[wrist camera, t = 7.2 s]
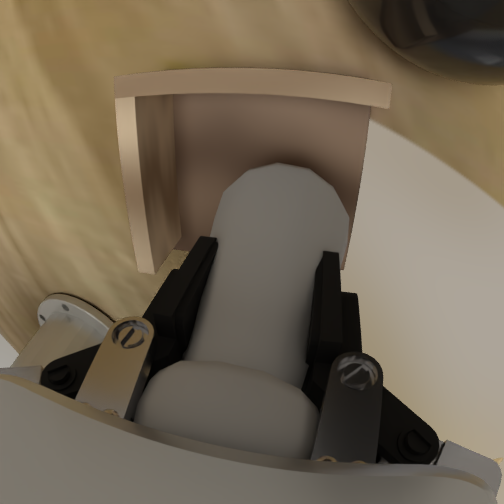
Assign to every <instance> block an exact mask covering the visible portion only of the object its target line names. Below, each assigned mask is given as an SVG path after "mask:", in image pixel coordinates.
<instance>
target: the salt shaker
mask: <svg viewBox="0 0 504 504" xmlns="http://www.w3.org/2000/svg"><path fill="white" fill-rule="evenodd" d="M348 229H349V216H348V214H347V212H346V210H345V208H344V206H343V204H342V202H341V200H340V199H339V197H338V195H337V193H336V191H335V189H334V187H333V186H331V185H330V184H329V183H328V182H326V181H325V180H324V179H322V178H321V177H320V176H319V175H317V174H316V173H315V172H313V171H312V170H311V169H309V168H304V167H299V166H294V165H289V164H283V163H274V164H269V165H265V166H261V167H257V168H253V169H249V170H248V171H246V172H245V173H244V174H243V175H242V176H241V177H240V178H238V179H237V180H236V181H235V182H234V183H233V184H232V185H231V186H229V187H228V188H227V189H226V190H225V191H224V192H223V195H222V198H221V200H220V203H219V206H218V209H217V212H216V215H215V218H214V222H213V226H212V230H211V234H210V237H216V238H217V240H216V241H215V242H218V249H217V252H216V255H215V258H214V261H213V264H212V267H211V270H210V273H209V276H208V279H207V282H206V285H205V288H204V291H203V294H202V297H201V300H200V304H199V308H198V312H197V317H196V321H195V325H194V328H193V331H192V335H191V338H190V341H189V344H188V348H187V350H186V351H185V352H184V353H183V355H182V360H181V361H179V362H177V363H175V364H173V365H171V366H168V367H166V368H164V369H162V370H160V371H159V372H158V373H157V374H156V375H155V376H153V377H152V378H151V379H150V381H149V383H148V384H147V386H146V388H145V390H144V392H143V394H142V396H141V398H140V400H139V402H138V404H137V409H136V413H135V417H134V421H133V422H134V423H137V424H140V425H143V426H146V427H150V428H153V429H156V430H159V431H163V432H166V433H170V434H173V435H177V436H180V437H184V438H188V439H192V440H196V441H200V442H204V443H209V444H213V445H217V446H222V447H227V448H232V449H237V450H242V451H248V452H254V453H260V454H266V455H272V456H280V457H287V458H295V459H305V460H309V455H310V451H311V448H312V444H313V440H314V435H315V431H316V427H317V422H318V418H319V411H318V408H317V407H316V406H315V405H314V404H313V403H312V402H311V400H310V399H309V398H308V397H307V396H306V395H305V394H304V393H303V392H302V391H301V388H302V385H303V382H304V379H305V376H306V373H307V370H308V367H309V365H308V364H306V363H305V362H306V354H307V346H308V337H309V329H310V319H311V310H312V301H313V292H314V282H315V271H316V268H317V266H318V264H319V263H320V261H321V259H322V257H323V251H331V252H339V260H340V268H341V265H342V261H343V258H344V254H345V250H346V247H347V241H348Z"/></svg>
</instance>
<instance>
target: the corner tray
mask: <svg viewBox="0 0 504 504" xmlns="http://www.w3.org/2000/svg"><path fill="white" fill-rule="evenodd" d="M391 89H392V84H391V83H387V82H382V81H377V80H371V79H366V78H359V77H353V76H346V75H339V74H331V73H322V72H312V71H301V70H288V69H271V68H195V69H177V70H164V71H154V72H145V73H137V74H129V75H122V76H115V77H114V90H115V106H116V120H117V132H118V142H119V152H120V161H121V169H122V177H123V184H124V192H125V199H126V205H127V212H128V218H129V224H130V230H131V235H132V241H133V246H134V251H135V257H136V262H137V266H138V271H139V272H142V273H149V274H156V272H157V271H158V270H159V268H160V267H161V265H162V264H163V262H164V261H165V260H166V258H167V257H168V255H169V254H170V252H171V251H172V250H173V249H176V250H184V251H191V249H192V248H193V246H194V245H195V243H196V242H197V240H198V238H199V237H200V236H207V237H210V234H211V230H212V226H213V222H214V218H215V215H216V212H217V209H218V206H219V203H220V200H221V198H222V195H223V192H224V191H225V190H226V189H227V188H228V187H229V186H231V185H232V184H233V183H234V182H235V181H236V180H237V179H238V178H240V177H241V176H242V175H243V174H244V173H245V172H246V171H248V170H249V169H253V168H257V167H261V166H265V165H269V164H274V163H283V164H289V165H294V166H299V167H304V168H309V169H311V170H312V171H313V172H315V173H316V174H317V175H319V176H320V177H321V178H322V179H324V180H325V181H326V182H328V183H329V184H330V185H331V186H333V187H334V189H335V191H336V193H337V195H338V197H339V199H340V200H341V202H342V204H343V206H344V208H345V210H346V212H347V214H348V216H349V229H348V241H347V247H346V250H345V254H344V258H343V261H342V265H341V268H340V270H344V265H345V262H346V257H347V252H348V247H349V242H350V237H351V233H352V227H353V222H354V217H355V211H356V206H357V200H358V194H359V188H360V182H361V176H362V170H363V162H364V156H365V149H366V141H367V133H368V126H369V117H370V108H371V106H375V107H380V108H386V109H389V108H390V99H391Z"/></svg>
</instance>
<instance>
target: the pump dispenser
mask: <svg viewBox="0 0 504 504" xmlns="http://www.w3.org/2000/svg"><path fill="white" fill-rule="evenodd" d="M348 1H349V3H350V4H351V6H352V7H353V9H354V10H355V12H356V13H357V14H358V16H359V17H360V18H361V19H362V21H363V22H364V23H365V24H366V25H367V26H368V27H369V29H370V30H371V31H372V32H373V33H374V34H375V35H376V36H377V37H378V38H379V39H381V40H382V41H383V42H384V43H385V44H386V45H387V46H389V47H390V48H391V49H392V50H394V51H395V52H396V53H398V54H399V55H400V56H402V57H403V58H405V59H406V60H408V61H410V62H411V63H413V64H415V65H416V66H418V67H420V68H422V69H424V70H426V71H428V72H431V73H433V74H435V75H438V76H441V77H444V78H447V79H450V80H454V81H458V82H463V83H469V84H476V85H504V0H348Z"/></svg>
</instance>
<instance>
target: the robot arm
mask: <svg viewBox="0 0 504 504" xmlns="http://www.w3.org/2000/svg"><path fill="white" fill-rule="evenodd" d="M216 240H217V238H216V237H207V236H200V237H199V238H198V240H197V242H196V243H195V245H194V246H193V248H192V249H191V251H190V253H189V254H188V256H187V257H186V259H185V261H184V262H183V264H182V265H181V267H180V269H179V270H178V269H173V270H172V271H171V272H170V274H169V275H168V277H167V278H166V280H165V281H164V283H163V285H162V286H161V288H160V289H159V291H158V292H157V294H156V296H155V297H154V299H153V300H152V302H151V304H150V305H149V307H148V308H147V310H146V312H145V313H144V315H143V317H142V318H141V317H126V318H123V319H121V320H118V321H117V322H115V323H113V322H112V321H111V320H110V319H109V318H108V317H107V316H105V315H104V314H103V313H101V312H100V311H98V310H97V309H96V308H94V307H92V306H91V305H89V304H87V303H86V302H84V301H82V300H79V299H77V298H75V297H72V296H68V295H63V294H53V295H50V296H48V297H46V298H45V299H44V301H43V302H42V303H41V304H40V306H39V308H38V313H37V315H38V321H39V324H40V329H39V330H38V331H37V332H36V334H35V335H34V336H33V337H32V339H31V340H30V341H29V343H28V344H27V345H26V347H25V348H24V349H23V350H22V352H21V353H20V354H19V356H18V357H17V359H16V360H15V361H14V363H13V364H12V365H11V367H10V368H0V504H497V500H496V495H497V492H498V489H499V486H500V483H501V476H502V474H501V469H500V467H499V465H498V464H497V463H496V462H495V461H494V460H492V459H490V458H487V457H485V456H483V455H480V454H478V453H476V452H473V451H471V450H469V449H466V448H464V447H462V446H460V445H458V444H455V443H453V442H451V441H448V440H446V441H445V442H443V441H440V440H439V439H438V436H437V434H436V432H435V431H434V430H433V429H432V428H431V427H430V426H429V425H428V424H427V423H426V422H424V421H423V420H422V419H421V418H420V417H418V416H417V415H416V414H415V413H414V412H413V411H412V410H410V409H409V408H408V407H407V406H406V405H404V404H403V403H402V402H401V401H400V400H399V399H397V398H396V397H395V396H394V395H393V394H392V393H391V392H389V391H388V390H387V389H386V388H385V387H384V386H383V372H382V368H381V366H380V365H379V363H378V362H377V361H376V360H375V359H374V358H373V357H371V356H369V355H368V354H365V353H362V342H361V328H360V315H359V305H358V296H357V294H356V293H349V292H341V280H340V260H339V252H331V251H323V257H322V259H321V261H320V263H319V264H318V266H317V268H316V271H315V282H314V292H313V301H312V310H311V319H310V329H309V337H308V346H307V354H306V362H305V363H306V364H308V365H309V367H308V370H307V373H306V376H305V379H304V382H303V385H302V388H301V391H302V392H303V393H304V394H305V395H306V396H307V397H308V398H309V399H310V400H311V402H312V403H313V404H314V405H315V406H316V407H317V408H318V411H319V418H318V422H317V427H316V431H315V435H314V440H313V444H312V448H311V451H310V455H309V460H305V459H295V458H287V457H280V456H272V455H266V454H260V453H254V452H248V451H242V450H237V449H232V448H227V447H222V446H217V445H213V444H209V443H204V442H200V441H196V440H192V439H188V438H184V437H180V436H177V435H173V434H170V433H166V432H163V431H159V430H156V429H153V428H150V427H146V426H143V425H140V424H137V423H134V422H133V421H134V417H135V413H136V409H137V404H138V402H139V400H140V398H141V396H142V394H143V392H144V390H145V388H146V386H147V384H148V383H149V381H150V379H151V378H152V377H153V376H155V375H156V374H157V373H158V372H159V371H160V370H162V369H164V368H166V367H168V366H171V365H173V364H175V363H177V362H179V361H181V360H182V355H183V353H184V352H185V351H186V350H187V348H188V344H189V341H190V338H191V335H192V331H193V328H194V325H195V321H196V317H197V312H198V308H199V304H200V300H201V297H202V294H203V291H204V288H205V285H206V282H207V279H208V276H209V273H210V270H211V267H212V264H213V261H214V258H215V255H216V252H217V249H218V242H215V241H216Z"/></svg>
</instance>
